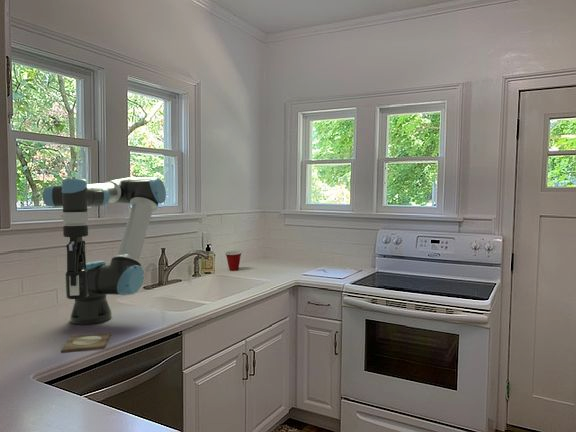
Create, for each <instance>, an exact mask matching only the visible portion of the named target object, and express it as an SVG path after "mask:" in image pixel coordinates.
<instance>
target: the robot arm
mask: <svg viewBox="0 0 576 432" xmlns="http://www.w3.org/2000/svg"><path fill="white" fill-rule="evenodd" d="M87 183H88V182H87V180H86V179H85V178H65V179H63V180H62V181H61V185H52V186H51V185H50V186H47V187H45V188H44V189H43V191H42V195H41V196H42V201H43V203H44V205H46V206H47V207H53V208H62V215H61V216H60V218H61V219H62V222H63V224H64V226H63V227H62V230H63V231H62V232H63V233H62V234H63V237H64V238H69V241H68V243H67V244H66V272H67V274H66V273H65V274H66V276H69V284H70V296H74V295H79V275H78V261H84V269H86V270H87V272H88V290H89V295H88V296H87V297H85V298H81V299H74V303H73V307H72V309H71V310H72V311H71V313H70V323H72V324H74V325H79V326H80V325H81V326H82V325H96V324H99V323H103V322H106V321H109V320H111V319H112V317H113V316H112V314H113V313H112V310H111V308H110V305H109V303H108V299H107V295H114V296H115V295H117V296H128V295H129V296H130V295H135V294H136V293H137V292H139V290H140V289H141V288H142V286H143V283H144V279H145V276H144V275H145V272H144V268H143V267H142V263H141V262H140V257H141V253H142V250H143V246H144V243H145V239H146V236H147V232H148V228H149V224H150V222H151V218H152V214H153V212H155V211H157V209H158V207H159V205H161V204H164V203H165V201H166V198H167V196H166V195H167V192H166V187H165V184H164V182H163V180H162V179H161V178H160V177H157V176H155V177H153V176H149V177H125V178H118V179H113V180H107V181H105V182H103V183H88V184H87ZM108 203H111V204H113V203H122V204H130V205H131V208H130V209H131V210H130V212H129V216H128V219H127V223H126V225H125V229H124V232H123V236H122V238H121V242H120V244H119V248H118V251H117V255H114V256H113V257H112V258H111V260H110V263H109V264H106V261H105V260H96V261H94V260H93V261H89V262H87V261H86V258H87V257H86V256H87V255H86V240H84V239H83V238H85V237H88V236H89V225H88V223H89V217H88V216H89V214H88V213H89V211H88V208H89V207H93V208H95V207H98V208H99V207H102V206H105V205H106V204H108ZM66 276H65V277H66Z"/></svg>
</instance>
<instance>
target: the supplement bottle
mask: <svg viewBox="0 0 576 432" xmlns="http://www.w3.org/2000/svg"><path fill="white" fill-rule="evenodd" d="M66 274H67V271H66V272H65V274H64V275H65V294H66V298H67V299H68V300H75V299H81V298H85V297H87V296H88V295H89V290H88V272H87V270H86V269H84V261H78V275H79V295H74V296H70V284H69V276H66Z"/></svg>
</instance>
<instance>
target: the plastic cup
mask: <svg viewBox="0 0 576 432" xmlns="http://www.w3.org/2000/svg"><path fill="white" fill-rule="evenodd" d="M224 254H225V257H226V260H227V266H228V271H230V272H237V271H239V268H240V261H241V257H242V251H241V250H230V251H226V252H224Z"/></svg>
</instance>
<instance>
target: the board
mask: <svg viewBox="0 0 576 432" xmlns="http://www.w3.org/2000/svg"><path fill="white" fill-rule="evenodd" d="M111 336H112V334H111V332H105V333H93V334H79V335H70V337H69V339H68V340H67V341H66V343H65V344H64V345H63V347H62V348H61V349H60V353H68V352H69V353H70V352H71V353H72V352H79V351H91V350H102V349H105V348H106V346H107V344H108V341H109V340H110V338H111Z"/></svg>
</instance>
